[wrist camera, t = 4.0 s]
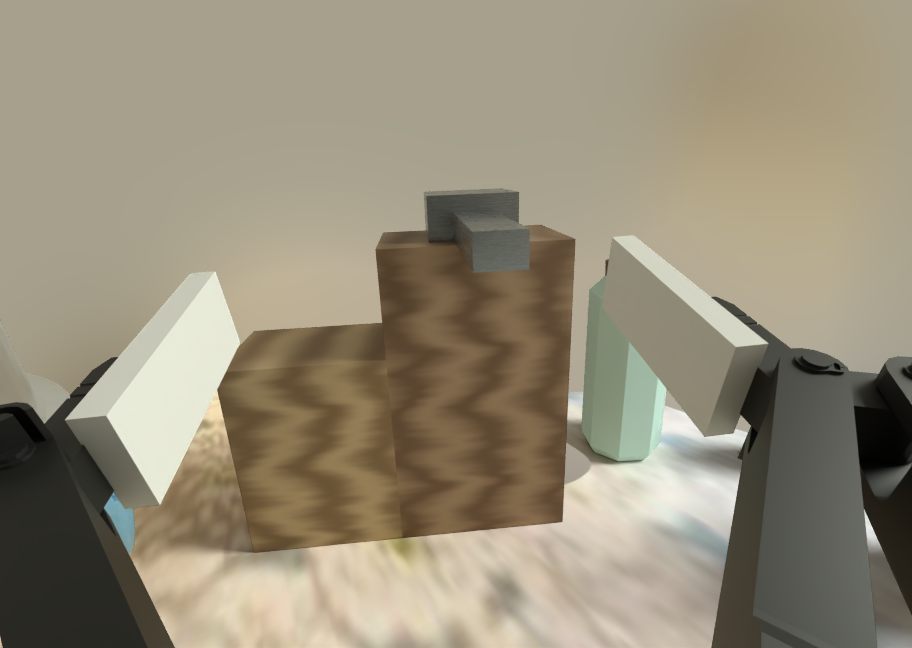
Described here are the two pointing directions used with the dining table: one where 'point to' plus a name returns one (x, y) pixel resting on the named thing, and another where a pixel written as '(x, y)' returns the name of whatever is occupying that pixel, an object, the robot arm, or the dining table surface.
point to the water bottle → (618, 390)
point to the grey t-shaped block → (480, 227)
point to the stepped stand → (410, 404)
